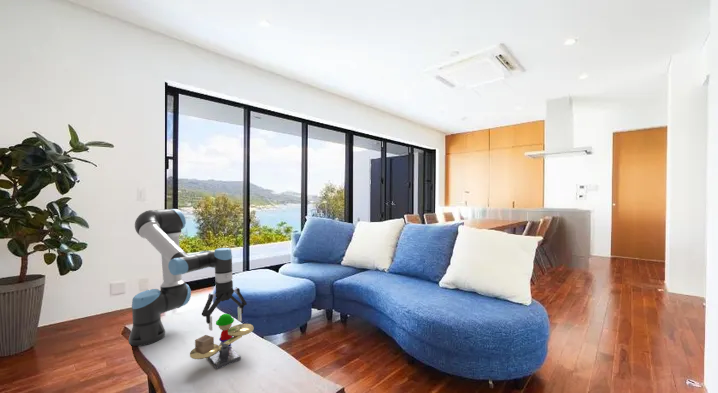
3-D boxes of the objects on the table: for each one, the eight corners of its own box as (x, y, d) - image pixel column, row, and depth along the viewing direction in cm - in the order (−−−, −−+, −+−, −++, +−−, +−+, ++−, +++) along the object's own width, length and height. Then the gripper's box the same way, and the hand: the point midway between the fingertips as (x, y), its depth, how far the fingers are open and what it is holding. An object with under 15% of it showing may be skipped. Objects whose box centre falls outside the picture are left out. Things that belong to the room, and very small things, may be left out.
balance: (186, 365, 131) (186, 340, 130) (247, 343, 149) (247, 321, 148) (195, 377, 122) (194, 350, 122) (258, 352, 140) (258, 329, 140)
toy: (230, 339, 153) (229, 309, 153) (237, 344, 147) (236, 314, 147) (214, 345, 147) (213, 314, 147) (220, 351, 142) (219, 318, 142)
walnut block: (195, 351, 129) (195, 339, 129) (206, 346, 133) (205, 334, 133) (203, 354, 126) (202, 342, 126) (213, 348, 131) (213, 337, 131)
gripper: (198, 288, 135) (199, 336, 136) (252, 276, 153) (254, 319, 153) (193, 285, 141) (194, 331, 141) (246, 274, 158) (247, 315, 158)
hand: (225, 325), depth 147 cm, fingers open, 13 cm apart
